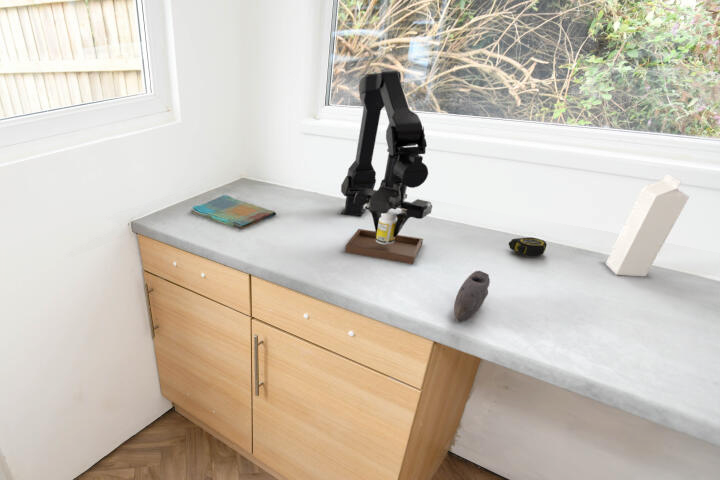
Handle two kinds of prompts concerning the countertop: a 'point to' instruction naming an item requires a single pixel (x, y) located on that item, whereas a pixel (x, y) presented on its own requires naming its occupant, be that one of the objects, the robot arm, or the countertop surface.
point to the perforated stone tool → (471, 295)
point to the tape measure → (528, 246)
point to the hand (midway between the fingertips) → (385, 234)
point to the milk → (647, 227)
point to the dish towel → (232, 212)
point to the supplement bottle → (387, 227)
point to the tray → (384, 247)
